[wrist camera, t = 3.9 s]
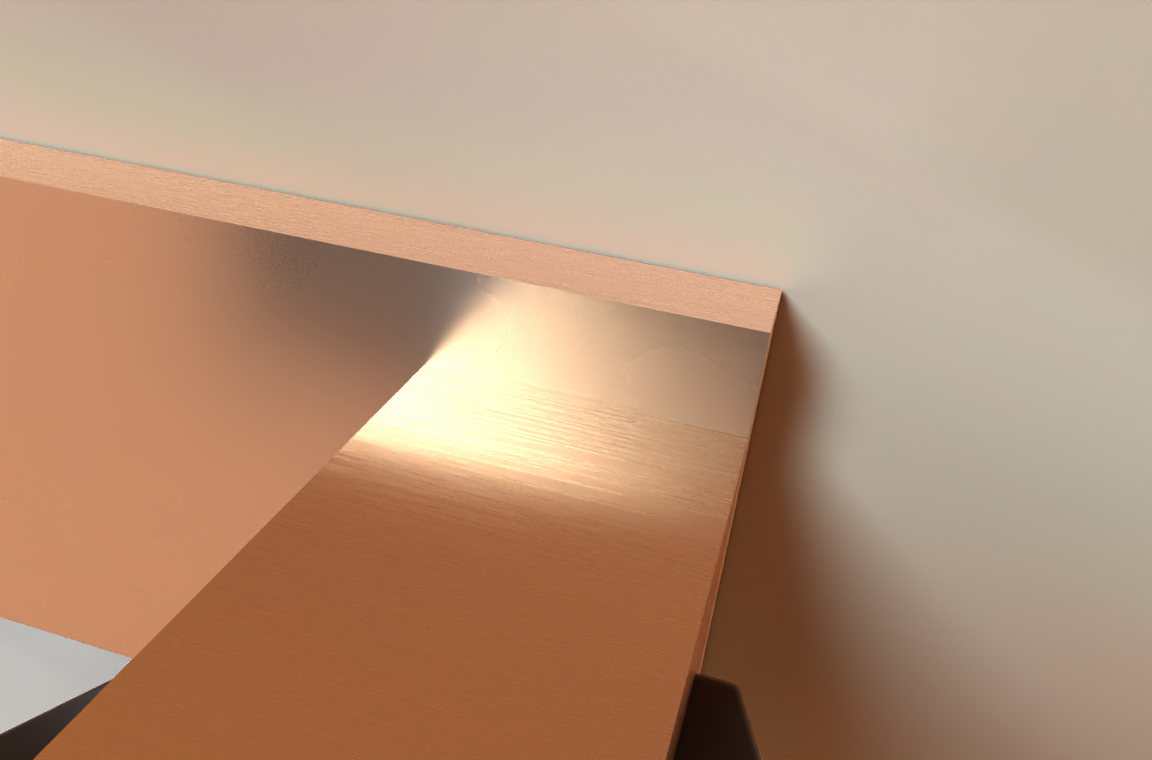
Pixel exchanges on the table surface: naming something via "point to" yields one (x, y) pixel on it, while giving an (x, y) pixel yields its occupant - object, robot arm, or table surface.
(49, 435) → the copper plank with block
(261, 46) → the table surface
